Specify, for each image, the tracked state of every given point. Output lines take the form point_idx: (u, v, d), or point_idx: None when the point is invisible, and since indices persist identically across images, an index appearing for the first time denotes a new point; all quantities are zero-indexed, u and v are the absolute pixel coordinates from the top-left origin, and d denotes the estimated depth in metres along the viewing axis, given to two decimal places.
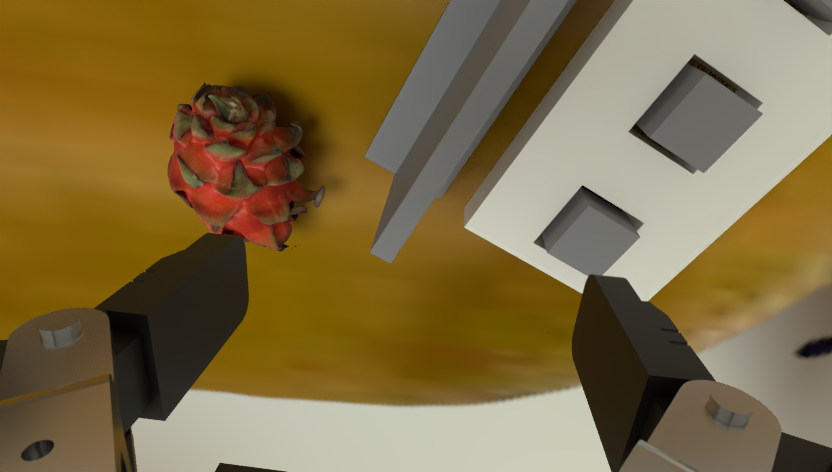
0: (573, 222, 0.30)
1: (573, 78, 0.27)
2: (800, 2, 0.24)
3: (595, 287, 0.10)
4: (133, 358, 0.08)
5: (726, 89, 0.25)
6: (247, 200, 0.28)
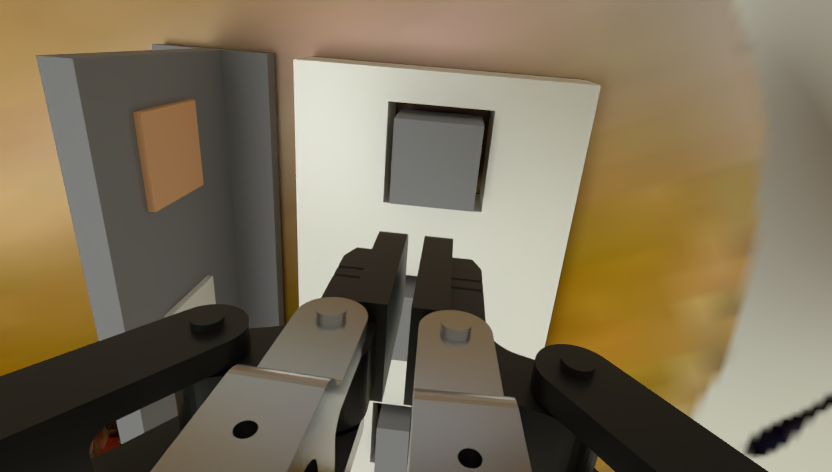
0: None
1: None
2: None
3: None
4: (374, 344, 0.09)
5: (412, 299, 0.25)
6: None
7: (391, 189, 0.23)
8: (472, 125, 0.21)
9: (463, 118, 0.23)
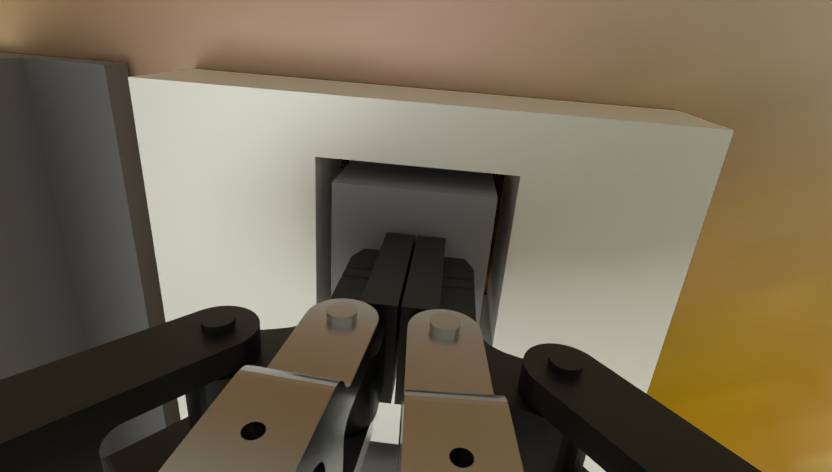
0: None
1: None
2: None
3: None
4: (384, 345, 0.09)
5: None
6: None
7: None
8: (475, 196, 0.11)
9: (459, 176, 0.13)
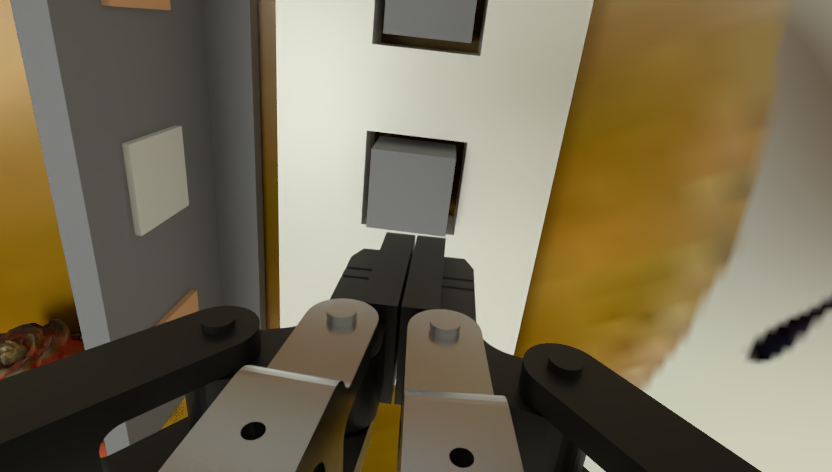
0: None
1: (279, 199, 0.26)
2: None
3: None
4: (384, 345, 0.09)
5: (402, 153, 0.23)
6: None
7: (385, 16, 0.21)
8: None
9: None
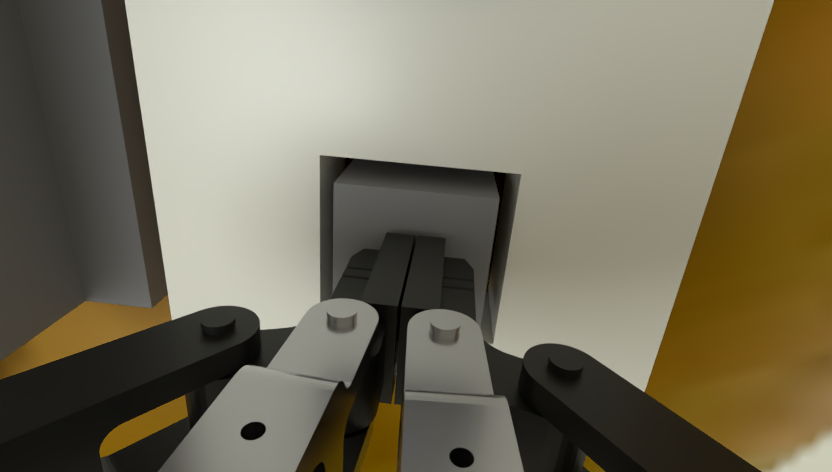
0: (333, 236, 0.12)
1: None
2: None
3: None
4: (384, 345, 0.09)
5: None
6: None
7: None
8: None
9: None
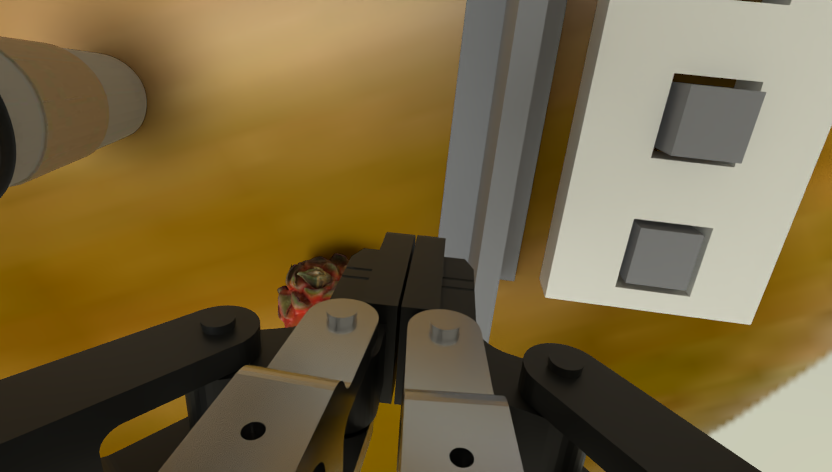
0: (634, 247, 0.32)
1: (579, 137, 0.30)
2: None
3: None
4: (384, 345, 0.09)
5: (718, 88, 0.27)
6: None
7: None
8: None
9: None
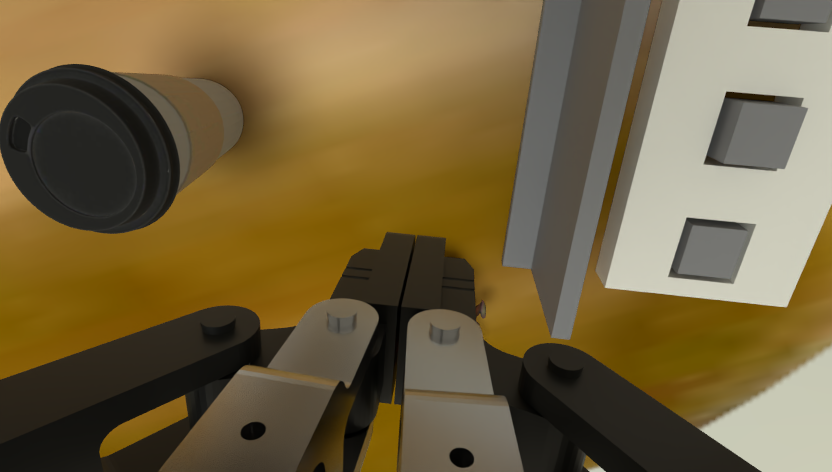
0: (686, 242, 0.36)
1: (640, 147, 0.34)
2: (778, 21, 0.32)
3: None
4: (384, 345, 0.09)
5: (766, 105, 0.31)
6: None
7: (764, 5, 0.30)
8: None
9: None
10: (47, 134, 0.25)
